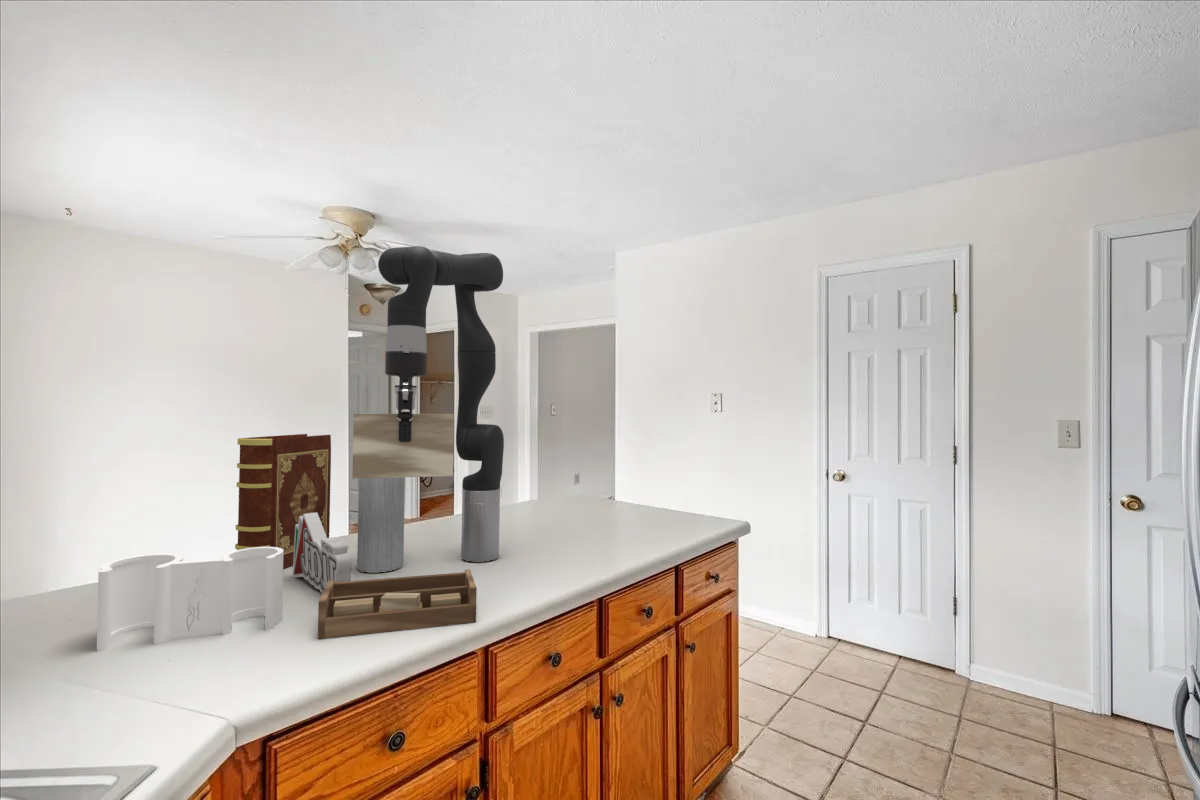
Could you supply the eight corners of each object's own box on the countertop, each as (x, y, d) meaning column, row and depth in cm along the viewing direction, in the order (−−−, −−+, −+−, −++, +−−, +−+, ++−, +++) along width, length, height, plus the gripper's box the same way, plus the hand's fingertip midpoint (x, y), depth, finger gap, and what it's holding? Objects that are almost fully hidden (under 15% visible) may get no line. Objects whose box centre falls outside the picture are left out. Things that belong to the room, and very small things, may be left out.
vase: (408, 569, 128) (410, 451, 128) (362, 576, 123) (364, 453, 123) (397, 559, 136) (399, 448, 137) (353, 565, 131) (355, 450, 131)
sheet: (353, 477, 105) (354, 413, 105) (452, 474, 111) (453, 414, 111) (352, 478, 103) (353, 413, 103) (453, 476, 109) (454, 414, 109)
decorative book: (259, 578, 120) (262, 439, 120) (228, 575, 122) (231, 438, 122) (329, 552, 142) (332, 434, 142) (302, 549, 144) (305, 433, 144)
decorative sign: (349, 611, 108) (354, 535, 107) (334, 615, 106) (339, 537, 105) (305, 574, 124) (309, 507, 123) (292, 576, 122) (296, 509, 121)
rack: (328, 613, 101) (328, 580, 101) (469, 600, 109) (469, 569, 109) (317, 639, 90) (318, 601, 90) (475, 622, 98) (476, 587, 98)
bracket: (286, 610, 102) (287, 544, 102) (277, 630, 93) (278, 558, 93) (115, 628, 93) (117, 555, 93) (87, 653, 84) (89, 572, 84)
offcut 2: (430, 617, 100) (430, 595, 100) (459, 614, 101) (459, 592, 101) (430, 623, 97) (431, 600, 97) (460, 620, 99) (460, 597, 99)
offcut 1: (335, 627, 95) (335, 601, 95) (373, 623, 97) (373, 597, 97) (332, 634, 92) (333, 606, 92) (372, 629, 94) (372, 603, 94)
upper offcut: (385, 604, 98) (385, 593, 98) (420, 604, 98) (420, 593, 98) (380, 609, 95) (380, 598, 96) (416, 609, 96) (416, 598, 96)
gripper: (387, 353, 112) (385, 439, 112) (383, 346, 99) (382, 444, 99) (425, 354, 115) (424, 439, 115) (427, 348, 102) (426, 443, 102)
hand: (404, 440), depth 107 cm, fingers closed on sheet, 2 cm apart
